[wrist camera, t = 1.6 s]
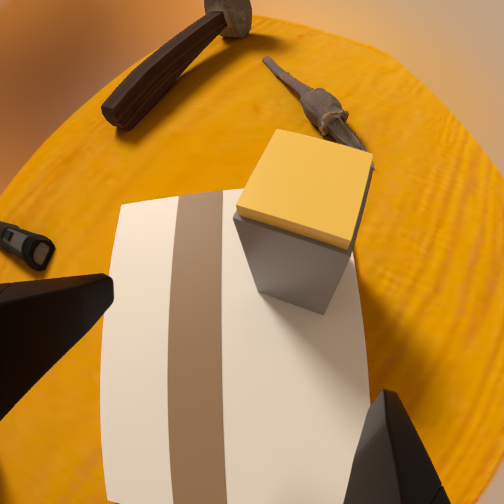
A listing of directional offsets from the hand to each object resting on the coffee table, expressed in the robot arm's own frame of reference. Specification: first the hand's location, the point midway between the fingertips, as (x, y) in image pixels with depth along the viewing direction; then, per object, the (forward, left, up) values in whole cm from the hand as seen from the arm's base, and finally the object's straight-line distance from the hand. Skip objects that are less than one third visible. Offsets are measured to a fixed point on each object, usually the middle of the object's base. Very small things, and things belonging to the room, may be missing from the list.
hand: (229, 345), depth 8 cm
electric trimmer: (+12, +29, -14) cm, 34 cm away
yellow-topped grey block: (+7, -3, -12) cm, 14 cm away
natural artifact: (+28, -6, -13) cm, 32 cm away
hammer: (+40, +9, -13) cm, 43 cm away
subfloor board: (+1, +3, -13) cm, 13 cm away
